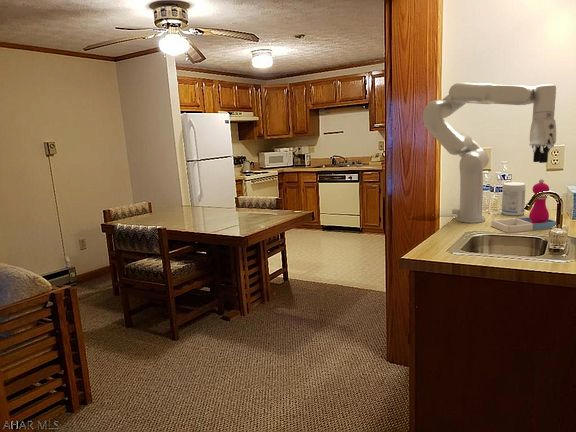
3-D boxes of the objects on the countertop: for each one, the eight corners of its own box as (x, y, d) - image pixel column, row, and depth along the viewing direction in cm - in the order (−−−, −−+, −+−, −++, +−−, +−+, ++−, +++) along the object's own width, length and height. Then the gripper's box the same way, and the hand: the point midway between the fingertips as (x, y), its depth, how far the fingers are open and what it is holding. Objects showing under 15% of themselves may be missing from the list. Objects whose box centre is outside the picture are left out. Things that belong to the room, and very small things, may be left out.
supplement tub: (514, 210, 208) (515, 181, 205) (529, 214, 199) (530, 183, 196) (497, 213, 206) (498, 183, 203) (511, 216, 197) (512, 185, 194)
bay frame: (507, 232, 173) (507, 226, 172) (491, 225, 184) (491, 220, 183) (558, 227, 175) (559, 221, 174) (539, 221, 186) (539, 216, 185)
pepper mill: (551, 228, 175) (554, 180, 170) (532, 228, 176) (535, 180, 172) (544, 223, 182) (547, 177, 177) (526, 224, 183) (528, 178, 179)
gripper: (567, 115, 162) (563, 163, 166) (538, 116, 178) (535, 160, 182) (548, 116, 162) (545, 164, 166) (521, 117, 177) (519, 161, 181)
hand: (540, 161), depth 174 cm, fingers open, 2 cm apart
